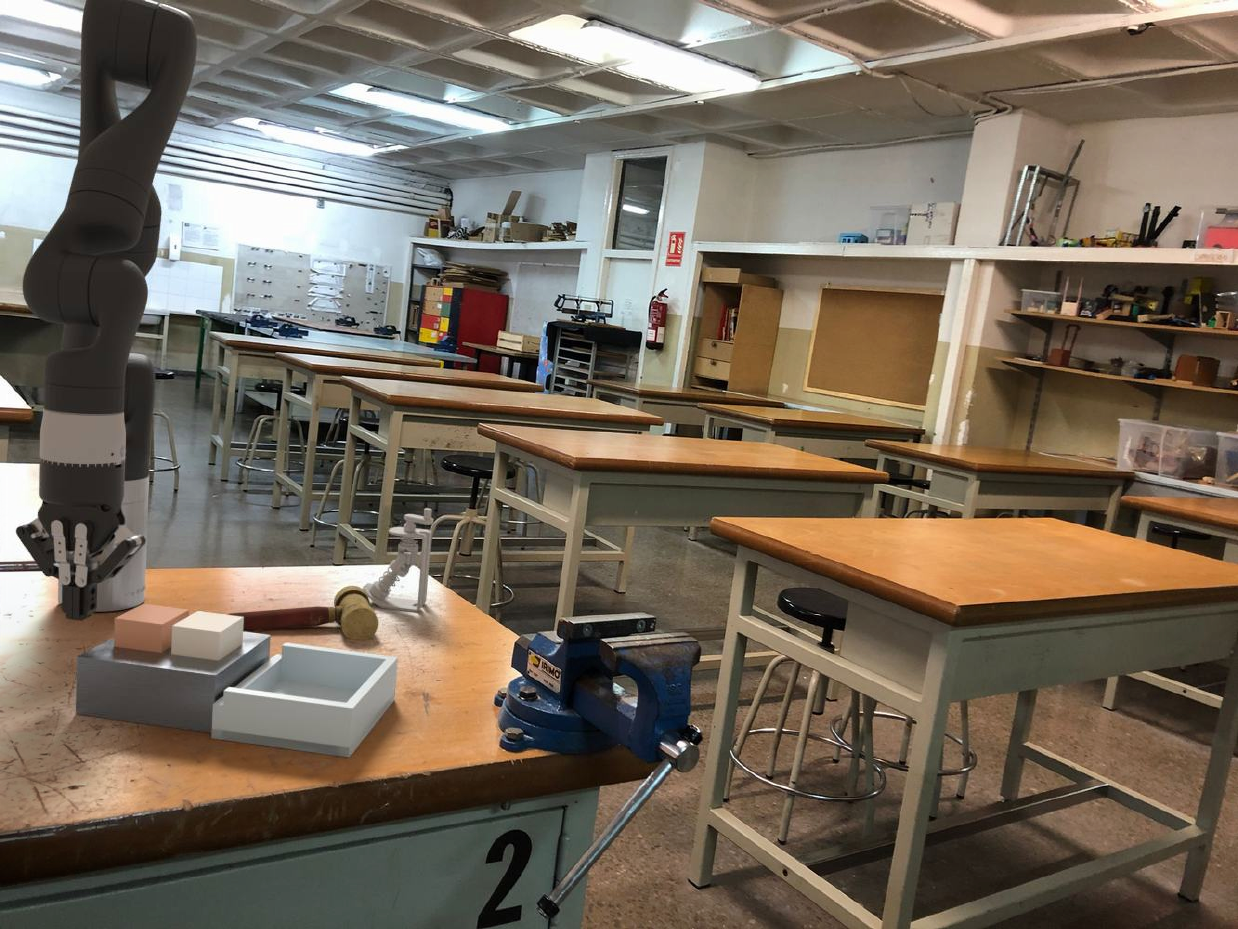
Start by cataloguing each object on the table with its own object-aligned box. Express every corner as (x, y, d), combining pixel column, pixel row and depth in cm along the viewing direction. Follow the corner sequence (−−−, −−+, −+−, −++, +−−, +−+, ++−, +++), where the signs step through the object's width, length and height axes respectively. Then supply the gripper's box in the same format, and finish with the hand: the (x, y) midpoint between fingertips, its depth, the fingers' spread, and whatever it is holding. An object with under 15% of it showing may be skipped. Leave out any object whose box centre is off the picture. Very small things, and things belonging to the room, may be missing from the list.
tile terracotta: (113, 646, 93) (114, 618, 92) (142, 630, 98) (143, 603, 97) (161, 652, 93) (162, 624, 92) (187, 636, 98) (189, 609, 97)
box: (211, 738, 89) (213, 689, 88) (274, 683, 103) (277, 641, 102) (349, 757, 88) (352, 708, 87) (394, 700, 102) (397, 657, 101)
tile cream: (171, 654, 93) (172, 625, 92) (196, 637, 98) (198, 610, 97) (218, 660, 92) (220, 632, 92) (242, 644, 97) (243, 617, 97)
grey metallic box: (75, 714, 90) (77, 656, 90) (146, 670, 102) (148, 618, 101) (212, 733, 90) (215, 675, 89) (267, 686, 102) (270, 635, 101)
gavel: (202, 621, 111) (203, 596, 120) (203, 657, 112) (204, 629, 121) (378, 607, 119) (367, 584, 128) (378, 640, 120) (367, 615, 129)
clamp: (367, 596, 136) (374, 498, 134) (430, 604, 136) (439, 505, 134) (358, 605, 132) (365, 503, 130) (424, 612, 132) (432, 511, 130)
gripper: (-7, 451, 90) (-9, 621, 92) (123, 467, 89) (118, 637, 91) (46, 442, 97) (43, 599, 99) (166, 457, 96) (160, 615, 99)
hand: (79, 617), depth 95 cm, fingers closed
